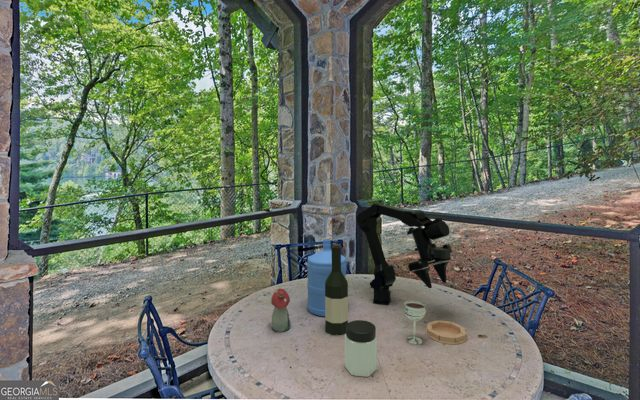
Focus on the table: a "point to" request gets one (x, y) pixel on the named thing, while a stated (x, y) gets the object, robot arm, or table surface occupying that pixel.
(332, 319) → the wine bottle
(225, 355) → the table surface
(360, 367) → the jar
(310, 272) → the water jug
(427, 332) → the coaster
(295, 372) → the table surface
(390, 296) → the robot arm
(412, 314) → the wineglass
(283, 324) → the decorative ornament
